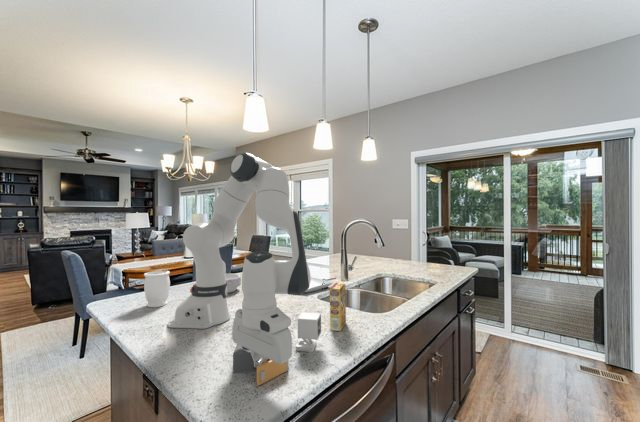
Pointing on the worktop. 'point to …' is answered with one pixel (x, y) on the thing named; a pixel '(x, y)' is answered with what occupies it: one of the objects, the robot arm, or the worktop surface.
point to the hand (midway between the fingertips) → (260, 368)
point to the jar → (157, 288)
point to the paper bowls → (232, 282)
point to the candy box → (337, 307)
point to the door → (270, 371)
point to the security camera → (308, 331)
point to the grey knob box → (243, 360)
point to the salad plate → (317, 284)
